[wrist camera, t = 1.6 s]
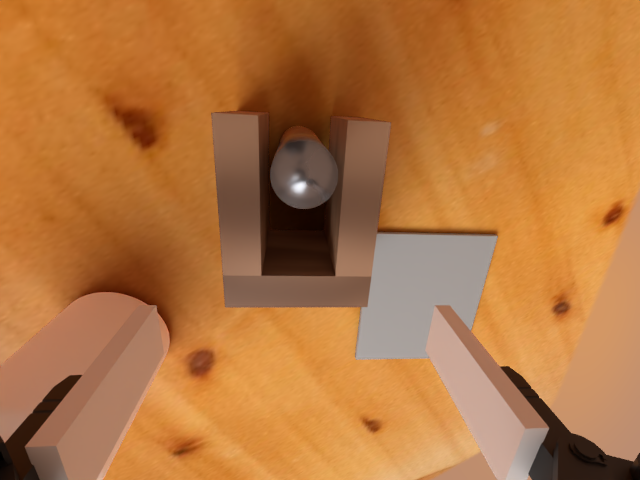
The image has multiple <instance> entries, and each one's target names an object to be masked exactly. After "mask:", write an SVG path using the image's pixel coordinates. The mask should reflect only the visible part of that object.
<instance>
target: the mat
mask: <svg viewBox="0 0 640 480" xmlns="http://www.w3.org/2000/svg"><path fill="white" fill-rule="evenodd" d="M497 238H498V236H497V235H495V234H456V233H409V232H377V237H376V245H375V253H374V260H373V268H372V276H371V284H370V291H369V299H368V307H361V311H360V319H359V327H358V336H357V344H356V353H355V358H356V360H358V359H418V358H429V356H428V355H427V353H426V351H425V349H426V344H427V340H428V335H429V330H430V326H431V321H432V316H433V311H434V307H435V305H450V306H451V307H452V309H453V310H454V311H455V312H456V314H457V315H458V316H459V317H460V319H461V320H462V321H463V322H464V323H465V325H466V326H467V327H468V328H469V330H470V331H471V329H472V326H473V322H474V319H475V315H476V311H477V308H478V304H479V301H480V297H481V294H482V290H483V287H484V283H485V280H486V276H487V273H488V269H489V266H490V262H491V259H492V255H493V252H494V248H495V245H496V241H497Z"/></svg>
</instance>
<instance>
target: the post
mask: <svg viewBox="0 0 640 480" xmlns="http://www.w3.org/2000/svg"><path fill="white" fill-rule="evenodd" d="M270 180H271V184H272V187H273V189H274V191H275V193H276V195H277V196H278V197H279V198H280V199H281V200H282V201H283V202H284V203H286V204H287V205H289V206H292V207H294V208H299V209H309V208H314V207H317V206H319V205H321V204H323V203H324V202H325V201H327V200H328V199H329V198H330V197H331V195H332V194H333V192H334V190H335V188H336V186H337V182H338V168H337V164H336V162H335V160H334V158H333V156H332V155H331V153H330V152H329V151H328V150H327V148H326V147H325V146H324V145H323V143H322V142H321V141H320V140H319V139H318V137H317V136H316V135H315V134H314V132H313V131H312V130H310V129H309V128H307V127H304V126H294V127H291V128H289V129H288V130H286V131H285V133H284V134H283V135H282V137H281V140H280V143H279V146H278V148H277V151H276V154H275V157H274V160H273V162H272V165H271V170H270Z"/></svg>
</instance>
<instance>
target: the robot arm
mask: <svg viewBox="0 0 640 480" xmlns="http://www.w3.org/2000/svg"><path fill="white" fill-rule="evenodd" d="M425 351H426V353H427V355H428V356H429V358H430V360H431V362H432V364H433V365H434V367H435V369H436V371H437V373H438V374H439V376H440V378H441V380H442V382H443V383H444V385H445V387H446V389H447V391H448V392H449V394H450V396H451V398H452V400H453V401H454V403H455V405H456V407H457V409H458V410H459V412H460V414H461V416H462V418H463V419H464V421H465V423H466V425H467V427H468V428H469V430H470V432H471V434H472V436H473V437H474V439H475V441H476V443H477V445H478V446H479V448H480V450H481V452H482V454H483V455H484V457H485V459H486V461H487V463H488V464H489V466H490V468H491V470H492V472H493V473H494V475H495V477H496V479H497V480H527V478H528V476H529V475H530V477H531V479H532V480H640V453H639V455H638V456H637V458H636V459H635V461H634V462H633V461H629V460H625V459H621V458H616V457H612V456H609V455H606V454H605V453H604V452H603V451H602V450H601V449H600V448H599V447H598V446H596V445H595V444H594V443H593V442H591V441H589V440H587V439H586V438H584V437H582V436H579V435H576V434H572V433H571V432H570V431H569V430H568V429H567V428H566V427H565V426H564V424H563V423H562V422H561V421H560V420H559V419H558V418H557V416H556V415H555V414H554V413H553V412H552V411H551V409H550V408H549V407H548V406H547V405H546V404H545V402H544V401H543V400H542V399H541V398H539V396H538V394H537V393H536V392H535V391H534V390H533V389H531V386H530V385H529V384H528V383H527V382H526V381H525V379H524V378H523V377H522V376H521V375H519V374H518V373H517V372H515V371H514V370H513V369H511V368H510V367H508V366H505V367H500V366H499V365H498V364H497V363H496V362H495V360H494V359H493V358H492V357H491V355H490V354H489V353H488V352H487V350H486V349H485V348H484V347H483V346H482V344H481V343H480V342H479V341H478V339H477V338H476V337H475V336H474V335H473V333H472V332H471V331H470V330H469V328H468V327H467V326H466V325H465V323H464V322H463V321H462V320H461V319H460V317H459V316H458V315H457V314H456V312H455V311H454V310H453V309H452V307H451V306H450V305H435V307H434V311H433V316H432V321H431V326H430V330H429V335H428V340H427V344H426V349H425ZM163 355H164V350H163V344H162V338H161V331H160V325H159V319H158V312H157V306H156V305H138V307H137V308H136V309H135V310H134V312H133V313H132V314H131V315H130V317H129V318H128V319H127V320H126V322H125V323H124V324H123V325H122V327H121V328H120V329H119V330H118V332H117V333H116V334H115V335H114V337H113V338H112V339H111V340H110V341H109V343H108V344H107V345H106V346H105V348H104V349H103V350H102V351H101V353H100V354H99V355H98V356H97V358H96V359H95V360H94V361H93V363H92V364H91V365H90V366H89V368H88V369H87V370H86V371H85V373H84V374H83V375H69V376H68V377H67V378H65V379H64V380H62V381H61V382H60V383H58V384H57V385H55V386H54V387H53V388H52V389H51V391H50V392H49V393H48V394H47V395H46V396H45V397H44V399H43V401H42V402H40V403H39V404H38V405H37V407H36V408H35V409H34V410H33V413H30V415H29V416H28V417H27V418H26V419H25V420H24V421H23V423H22V424H21V425H20V426H19V427H18V428H17V429H16V431H15V432H14V433H13V434H12V435H11V436H10V437H9V439H8V440H7V441H6V442H5V443H4V441H3V439H2V438H1V436H0V480H97V478H98V476H99V474H100V472H101V470H102V469H103V467H104V465H105V463H106V461H107V459H108V457H109V455H110V454H111V452H112V450H113V448H114V446H115V444H116V442H117V441H118V439H119V437H120V435H121V433H122V431H123V429H124V427H125V426H126V424H127V422H128V420H129V418H130V416H131V414H132V413H133V411H134V409H135V407H136V405H137V403H138V401H139V400H140V398H141V396H142V394H143V392H144V390H145V388H146V386H147V385H148V383H149V381H150V379H151V377H152V375H153V373H154V372H155V370H156V368H157V366H158V364H159V362H160V360H161V359H162V357H163Z"/></svg>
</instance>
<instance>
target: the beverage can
mask: <svg viewBox="0 0 640 480" xmlns="http://www.w3.org/2000/svg"><path fill="white" fill-rule="evenodd" d="M138 305H147V304H146V303H144V302H142V301H141V300H139V299H136V298H134V297H131V296H128V295H125V294H121V293H114V292H99V293H92V294H88V295H85V296H82V297H80V298H78V299H76V300H75V301H73V302H72V303H71V304H69V305H68V306H67V307H66V308H65V309H64V310H63V311H62V312H60V313H59V314H58V315H57V316H56V317H55V318H54V319H53V320H51V321H50V322H49V323H48V324H47V325H46V326H45V327H44V328H42V329H41V330H40V331H39V332H38V333H37V334H36V335H35V336H33V337H32V338H31V339H30V340H29V341H28V342H27V343H25V344H24V345H23V346H22V347H21V348H20V349H19V350H18V351H16V352H15V353H14V354H13V355H12V356H11V357H10V358H9V359H7V360H6V361H5V362H4V363H3V364H2V365H1V366H0V436H1V438H2V439H3V441H4V443H5V442H6V441H7V440H8V439H9V437H10V436H11V435H12V434H13V433H14V432H15V431H16V429H17V428H18V427H19V426H20V425H21V424H22V423H23V421H24V420H25V419H26V418H27V417H28V416H29V415H30V413H33V410H34V409H35V408H36V407H37V405H38V404H39V403H40V402H42V401H43V399H44V397H45V396H46V395H47V394H48V393H49V392H50V391H51V389H52V388H53V387H54V386H55V385H57V384H58V383H60V382H61V381H62V380H64V379H65V378H67V377H68V376H69V375H83V374H84V373H85V371H86V370H87V369H88V368H89V366H90V365H91V364H92V363H93V361H94V360H95V359H96V358H97V356H98V355H99V354H100V353H101V351H102V350H103V349H104V348H105V346H106V345H107V344H108V343H109V341H110V340H111V339H112V338H113V337H114V335H115V334H116V333H117V332H118V330H119V329H120V328H121V327H122V325H123V324H124V323H125V322H126V320H127V319H128V318H129V317H130V315H131V314H132V313H133V312H134V310H135V309H136V308H137V307H138ZM158 319H159V325H160V331H161V338H162V344H163V350H164V355H163V357H162V359H161V360H160V362H159V364H158V366H157V368H156V370H155V372H154V373H153V375H152V377H151V379H150V381H149V383H148V385H147V386H146V388H145V390H144V392H143V394H142V396H141V398H140V400H139V401H138V403H137V405H136V407H135V409H134V411H133V413H132V414H131V416H130V418H129V420H128V422H127V424H126V426H125V427H124V429H123V431H122V433H121V435H120V437H119V439H118V441H117V442H116V444H115V446H114V448H113V450H112V452H111V454H110V455H109V457H108V459H107V461H106V463H105V465H104V467H103V469H102V470H101V472H100V474H99V476H98V478H97V480H103V478H104V476H105V475H106V473H107V471H108V469H109V467H110V465H111V463H112V461H113V459H114V457H115V455H116V453H117V451H118V449H119V447H120V445H121V443H122V441H123V439H124V437H125V435H126V433H127V431H128V429H129V427H130V425H131V423H132V421H133V419H134V418H135V416H136V414H137V412H138V410H139V408H140V406H141V404H142V402H143V400H144V398H145V396H146V394H147V392H148V390H149V388H150V386H151V384H152V382H153V380H154V378H155V376H156V374H157V372H158V370H159V368H160V366H161V364H162V362H163V360H164V358H165V357H166V354H167V352H168V349H169V345H170V337H169V332H168V329H167V326H166V324H165V322H164V321H163V319H162V318H161V316H160V315H159V314H158Z"/></svg>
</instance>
